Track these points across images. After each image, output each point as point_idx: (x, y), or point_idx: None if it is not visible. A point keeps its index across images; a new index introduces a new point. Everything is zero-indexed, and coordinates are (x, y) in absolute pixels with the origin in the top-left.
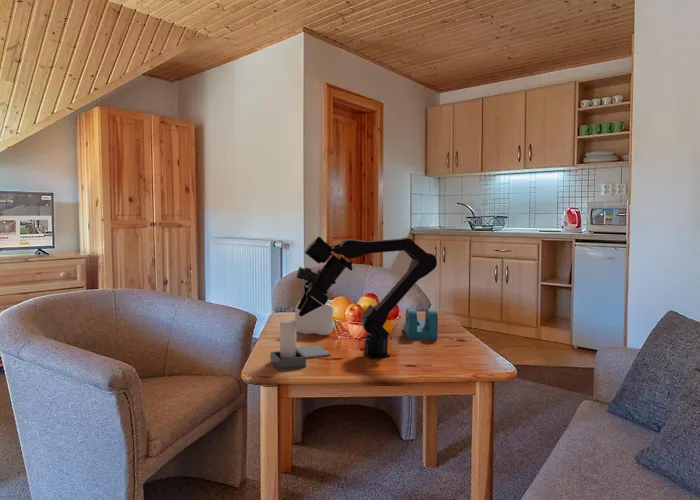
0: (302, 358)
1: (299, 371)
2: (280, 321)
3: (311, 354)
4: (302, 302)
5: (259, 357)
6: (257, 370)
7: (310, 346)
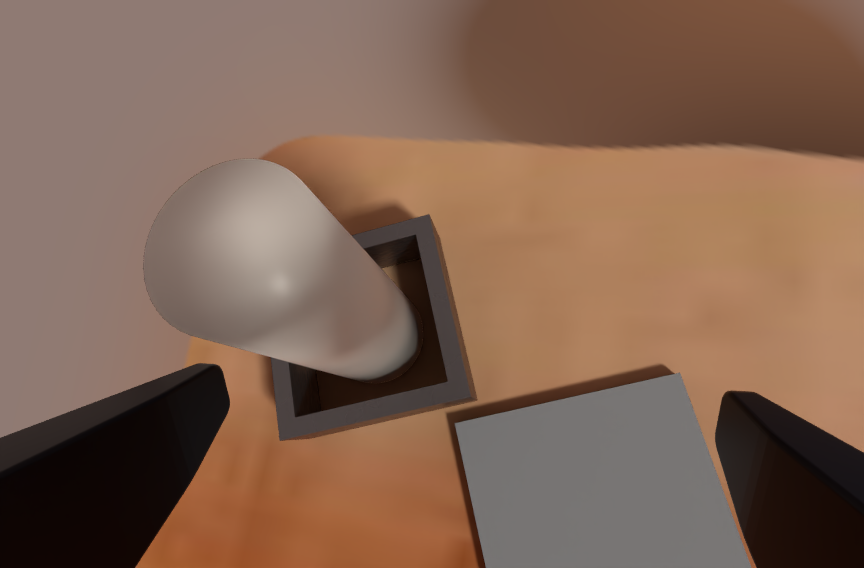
0: (280, 414)
1: (249, 391)
2: (268, 161)
3: (511, 514)
4: (815, 528)
5: (533, 174)
6: (319, 178)
7: (736, 545)
